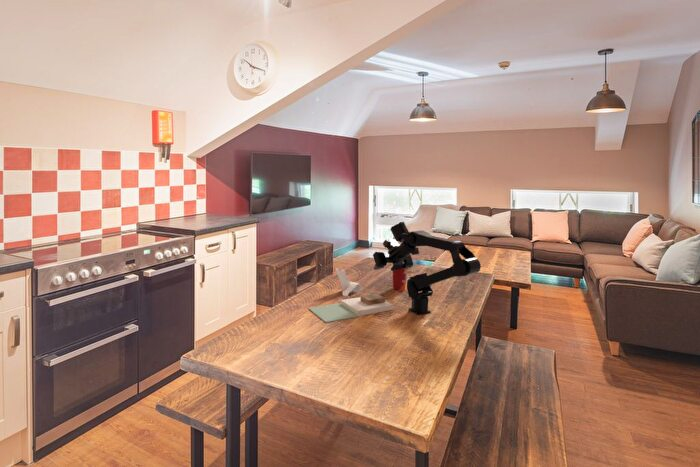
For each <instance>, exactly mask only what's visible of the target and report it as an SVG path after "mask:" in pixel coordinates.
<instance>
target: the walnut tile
mask: <svg viewBox="0 0 700 467" xmlns="http://www.w3.org/2000/svg"><path fill="white" fill-rule="evenodd" d="M360 297H361V301H362V302H364V303H365V304H367V305H372V304H378V303H385V301H386V297H385V296H383V295H381V294H379V293H372V294H366V295H365V294H364V295H361V296H360Z"/></svg>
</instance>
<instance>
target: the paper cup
mask: <svg viewBox="0 0 700 467" xmlns="http://www.w3.org/2000/svg"><path fill="white" fill-rule="evenodd" d="M393 265H394V264H392V266H393ZM407 275H408V268H405V269H399V270H393V271H392V289H393V291H397V292H404V291H405V290H406V287H407V277H408V276H407Z"/></svg>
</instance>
